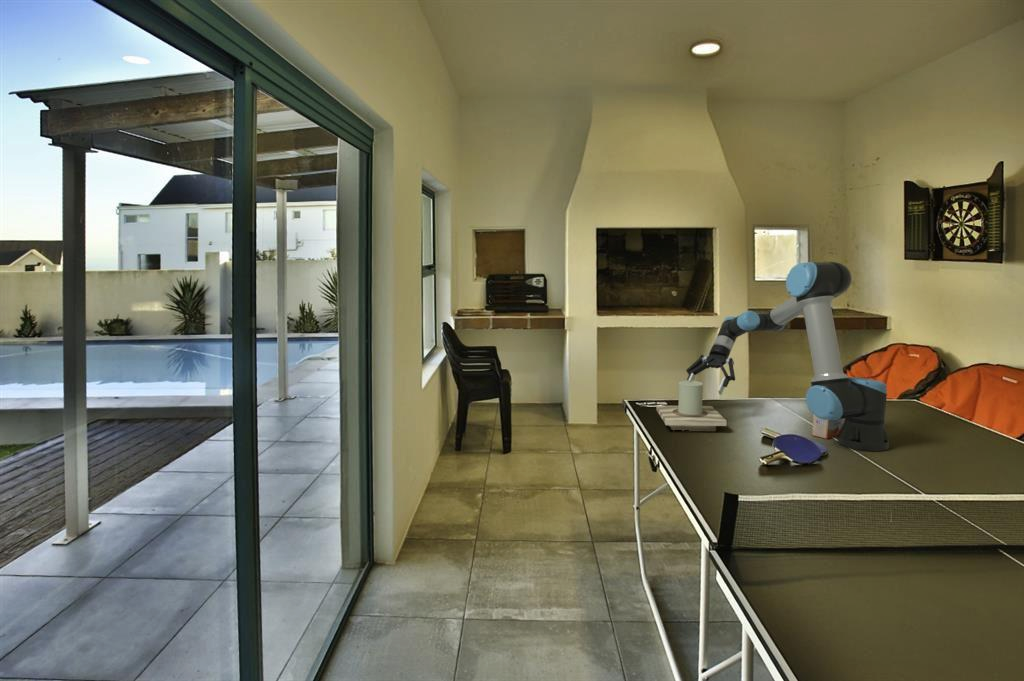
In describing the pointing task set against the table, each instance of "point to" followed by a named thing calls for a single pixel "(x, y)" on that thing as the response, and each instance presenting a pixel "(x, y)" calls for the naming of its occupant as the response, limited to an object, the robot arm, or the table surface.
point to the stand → (691, 419)
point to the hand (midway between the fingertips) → (703, 390)
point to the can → (690, 397)
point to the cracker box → (826, 427)
